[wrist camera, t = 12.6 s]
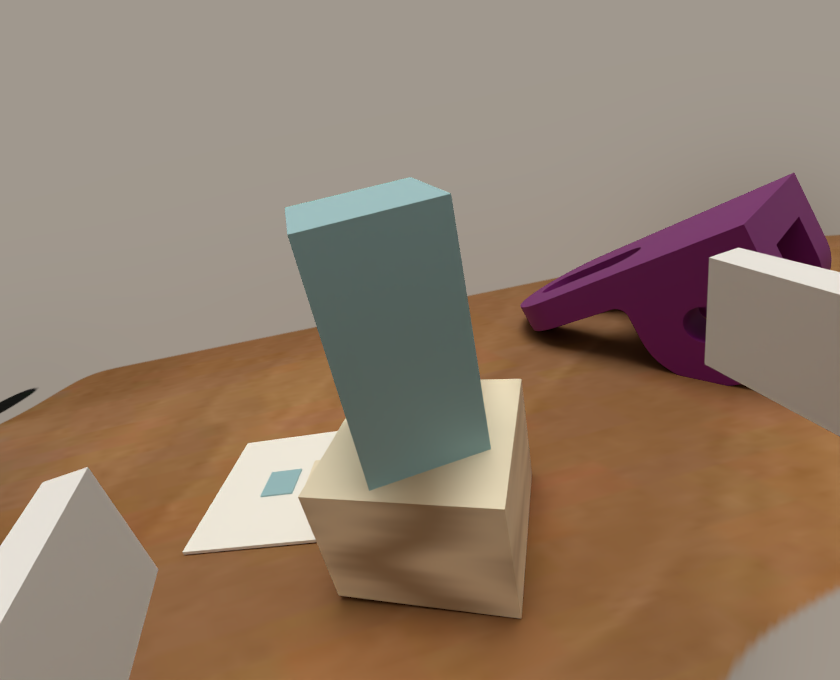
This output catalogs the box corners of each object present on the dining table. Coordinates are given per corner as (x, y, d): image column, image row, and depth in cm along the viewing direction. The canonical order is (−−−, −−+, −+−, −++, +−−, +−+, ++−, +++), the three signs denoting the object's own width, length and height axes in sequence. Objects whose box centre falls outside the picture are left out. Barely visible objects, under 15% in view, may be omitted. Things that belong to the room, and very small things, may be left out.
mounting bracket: (549, 409, 40) (818, 374, 25) (498, 318, 39) (743, 224, 24) (605, 353, 46) (854, 296, 30) (561, 272, 45) (794, 172, 29)
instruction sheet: (184, 554, 26) (181, 550, 26) (249, 445, 34) (247, 442, 34) (398, 534, 24) (396, 530, 24) (414, 423, 32) (413, 419, 32)
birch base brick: (338, 595, 21) (297, 497, 19) (391, 468, 28) (367, 382, 26) (521, 618, 19) (504, 509, 16) (531, 473, 26) (521, 378, 23)
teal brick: (369, 490, 18) (287, 234, 14) (351, 419, 23) (284, 207, 18) (491, 449, 19) (451, 193, 15) (450, 387, 24) (410, 177, 19)
